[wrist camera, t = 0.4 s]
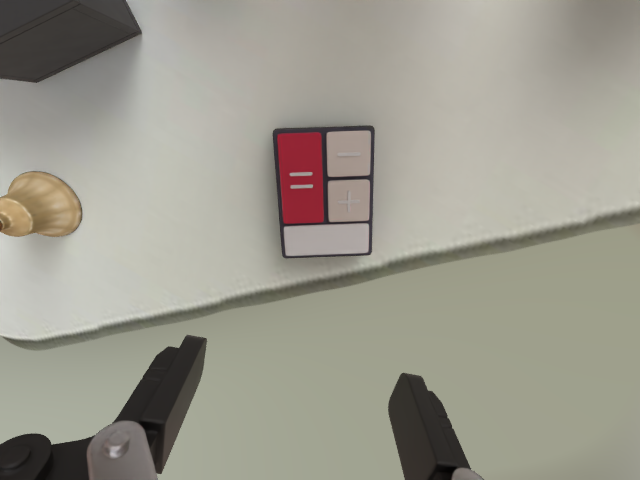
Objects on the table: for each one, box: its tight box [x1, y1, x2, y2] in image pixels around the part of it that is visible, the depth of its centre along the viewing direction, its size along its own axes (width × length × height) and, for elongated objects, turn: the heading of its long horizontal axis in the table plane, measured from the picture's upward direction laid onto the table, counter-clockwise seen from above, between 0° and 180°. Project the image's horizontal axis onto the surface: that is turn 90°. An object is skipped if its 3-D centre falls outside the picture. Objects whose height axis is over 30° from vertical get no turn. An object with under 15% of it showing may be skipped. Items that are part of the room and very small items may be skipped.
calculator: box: [273, 126, 374, 258], centre depth 37 cm, size 11×4×15 cm
